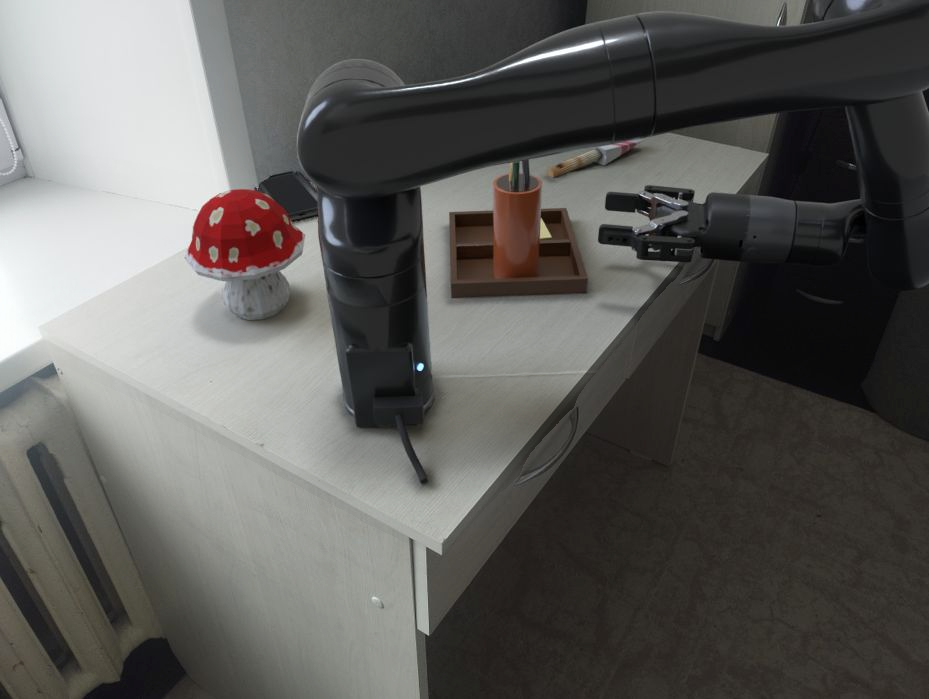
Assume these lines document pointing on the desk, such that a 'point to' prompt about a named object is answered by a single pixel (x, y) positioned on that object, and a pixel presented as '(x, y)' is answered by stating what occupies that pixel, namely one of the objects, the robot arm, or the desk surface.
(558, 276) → the tray
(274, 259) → the decorative mushroom
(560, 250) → the divider
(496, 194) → the pencil cup
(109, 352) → the desk surface
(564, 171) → the wrapped churro
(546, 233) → the note pad
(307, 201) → the phone
